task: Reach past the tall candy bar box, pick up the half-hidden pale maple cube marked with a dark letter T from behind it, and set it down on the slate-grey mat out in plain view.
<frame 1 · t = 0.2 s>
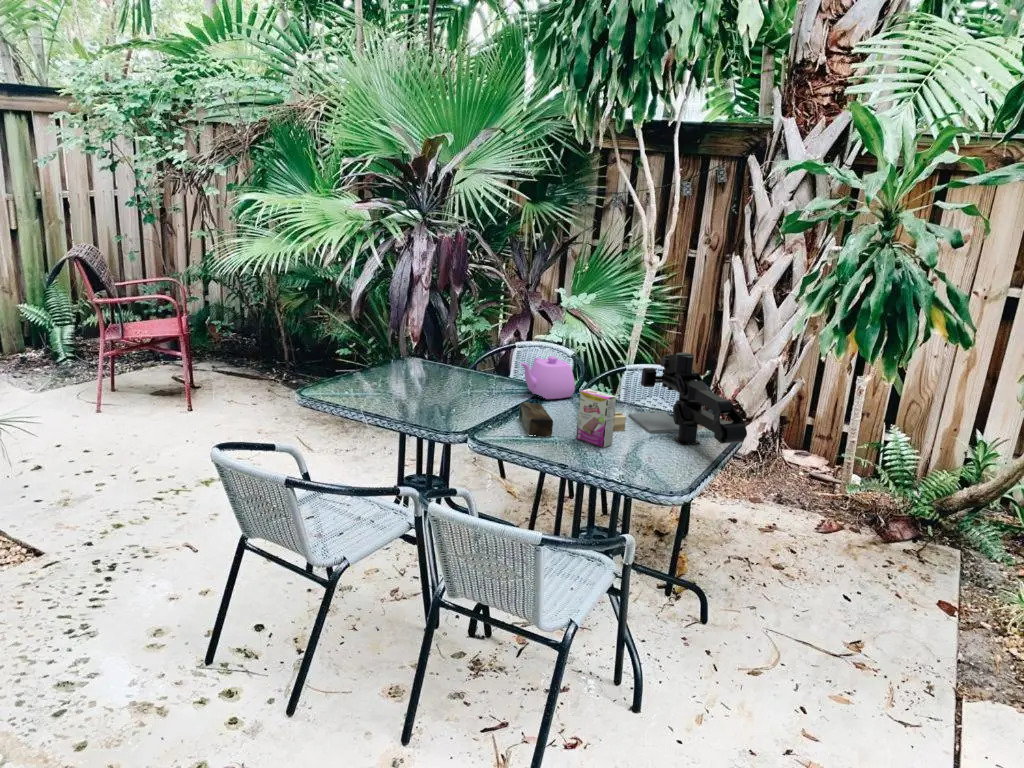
hand: (656, 371, 265), 17 cm above the table, tool horizontal, fingers open, 9 cm apart
lettered cube: (614, 428, 256), on the table
candy bar box: (593, 442, 241), on the table
beverage carton: (534, 428, 253), on the table
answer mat: (657, 423, 263), on the table
teapot: (548, 395, 290), on the table
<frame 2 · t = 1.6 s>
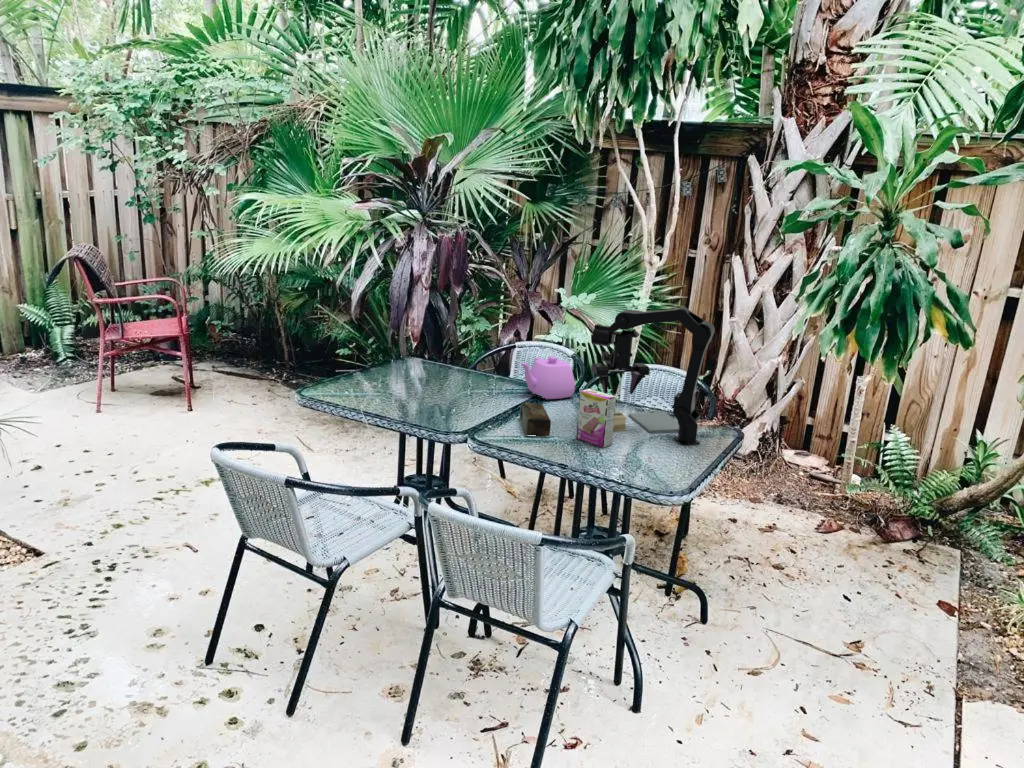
hand: (618, 394, 252), 12 cm above the table, tool pointing down, fingers open, 9 cm apart
nothing on the table moved.
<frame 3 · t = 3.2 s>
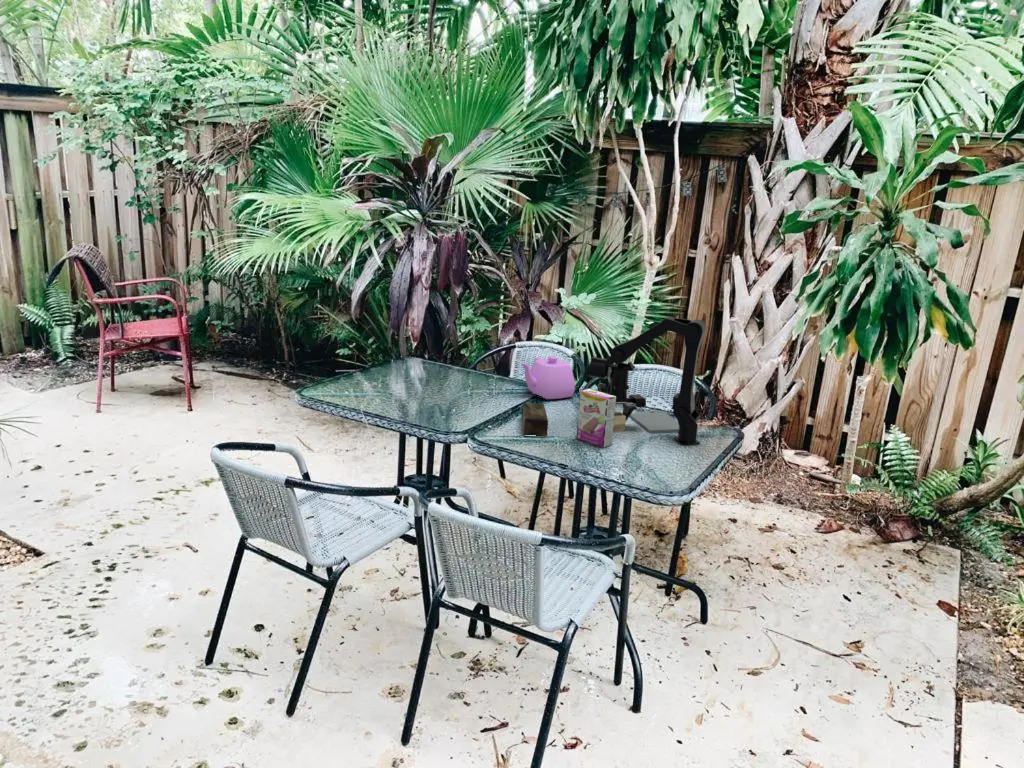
hand: (615, 425, 255), 1 cm above the table, tool pointing down, fingers closed on lettered cube, 5 cm apart
lettered cube: (614, 428, 256), on the table, touching gripper
everything else where it was.
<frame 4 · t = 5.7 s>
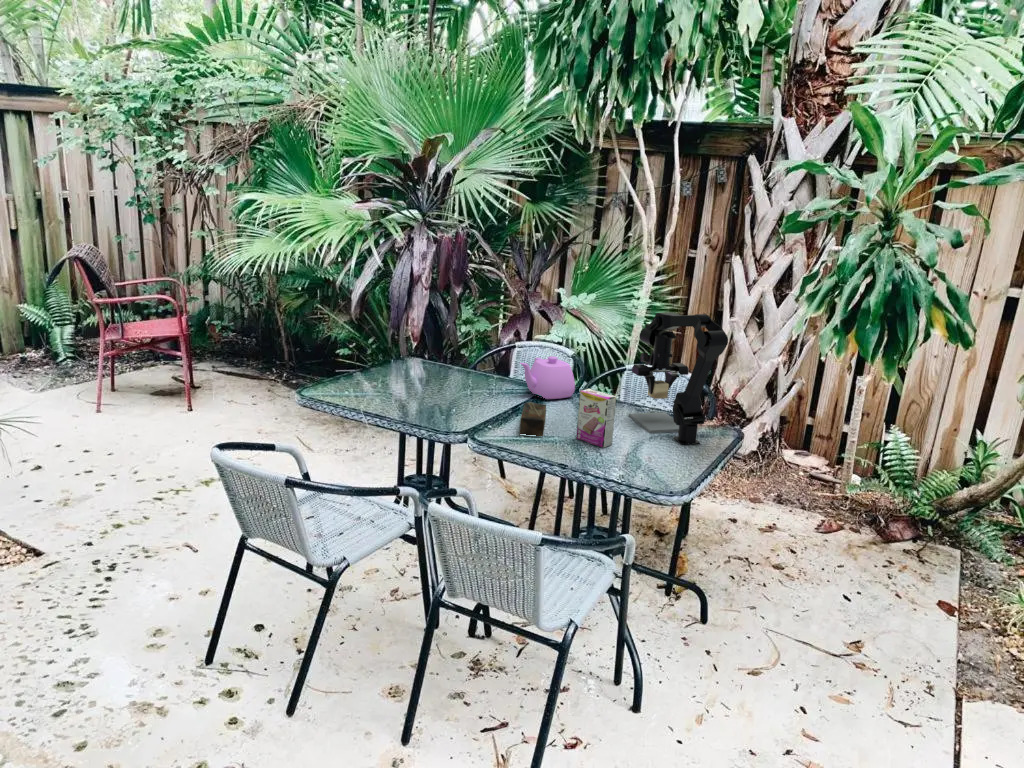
hand: (657, 393, 259), 11 cm above the table, tool pointing down, fingers closed on lettered cube, 5 cm apart
lettered cube: (657, 396, 260), point 10 cm above the table, touching gripper
when the fingers open (3 cm above the table, at t = 8.1 s): lettered cube stays where it is, resting on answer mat.
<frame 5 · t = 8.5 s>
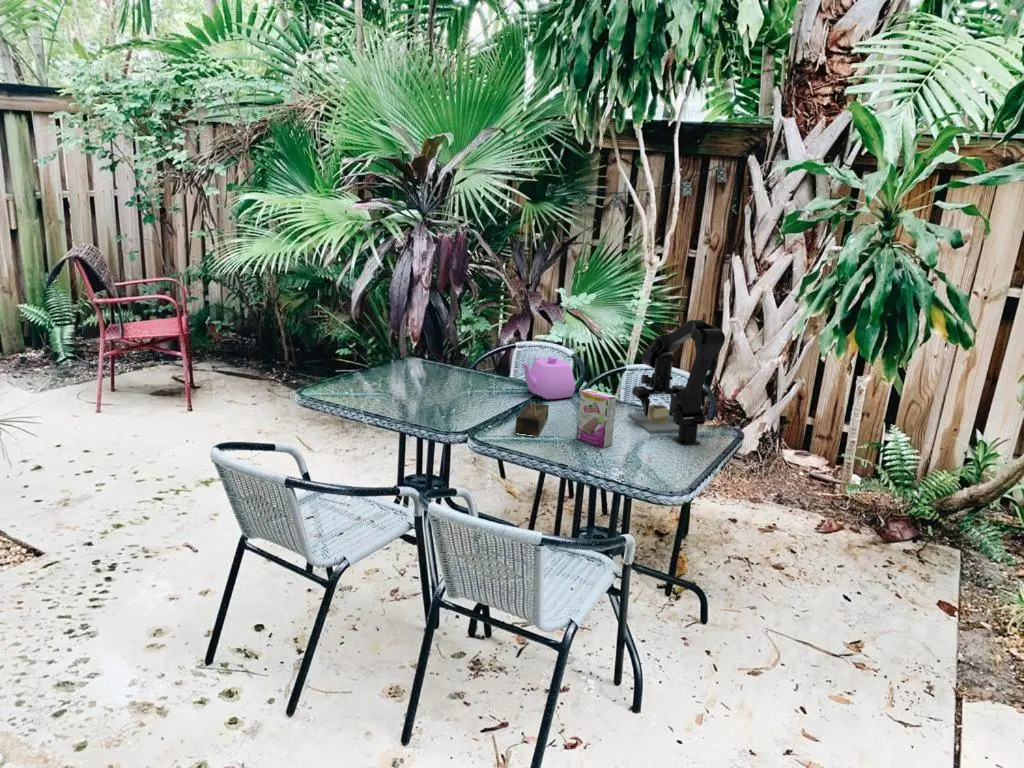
hand: (658, 415, 262), 3 cm above the table, tool pointing down, fingers open, 9 cm apart
lettered cube: (657, 420, 262), point 1 cm above the table, touching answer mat
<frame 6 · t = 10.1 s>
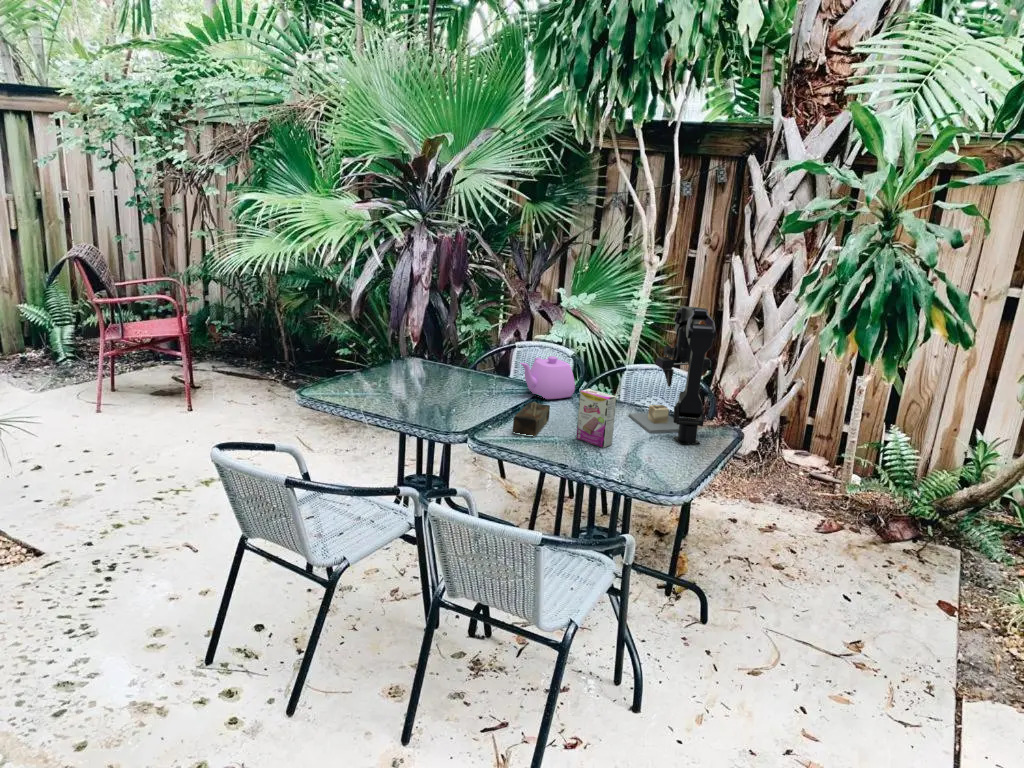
hand: (680, 386, 265), 12 cm above the table, tool pointing down, fingers open, 9 cm apart
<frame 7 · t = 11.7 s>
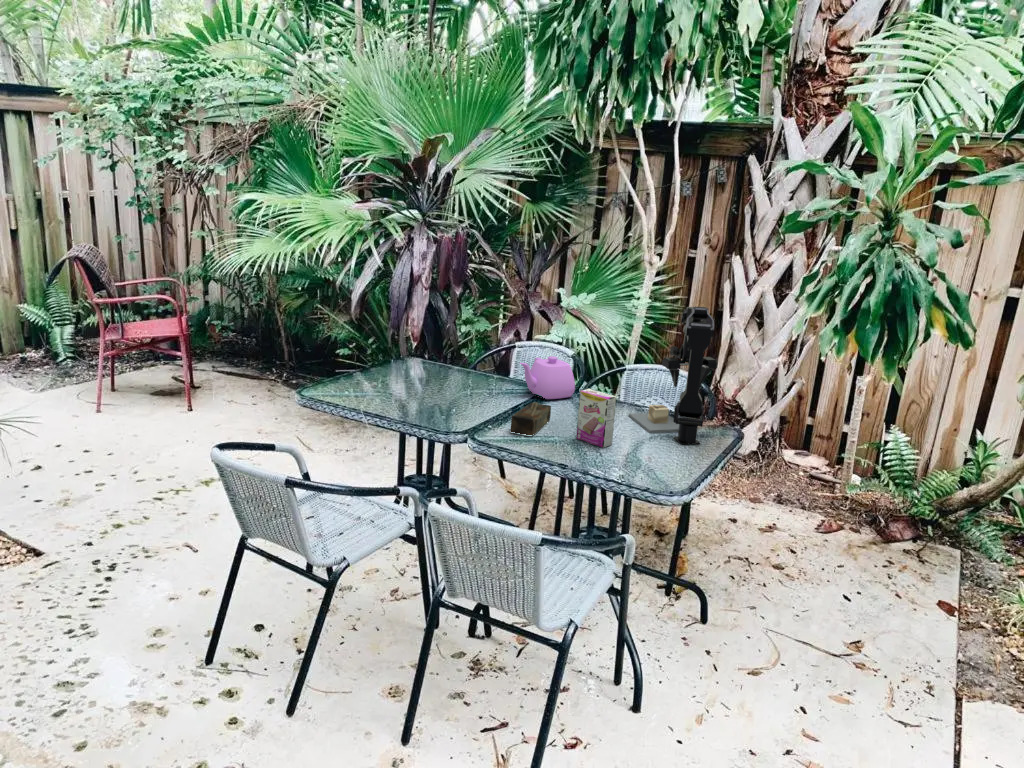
hand: (687, 386, 266), 12 cm above the table, tool pointing down, fingers open, 9 cm apart
at the end: lettered cube inside the target area on the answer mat (0.0 cm from its centre), point 1.0 cm above the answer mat's base; lettered cube tilted 0°; candy bar box moved 0.2 cm from its start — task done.
